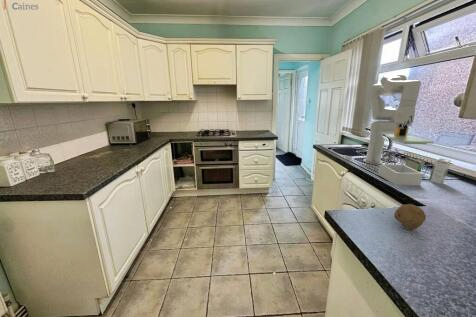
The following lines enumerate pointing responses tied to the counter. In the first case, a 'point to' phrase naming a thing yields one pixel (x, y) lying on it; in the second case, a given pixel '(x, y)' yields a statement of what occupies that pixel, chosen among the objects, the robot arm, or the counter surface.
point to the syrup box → (439, 170)
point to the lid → (407, 138)
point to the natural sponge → (410, 216)
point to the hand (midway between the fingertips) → (400, 135)
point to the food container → (414, 163)
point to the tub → (400, 174)
